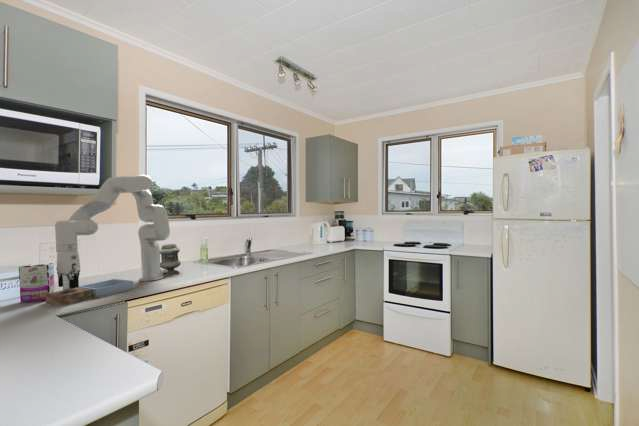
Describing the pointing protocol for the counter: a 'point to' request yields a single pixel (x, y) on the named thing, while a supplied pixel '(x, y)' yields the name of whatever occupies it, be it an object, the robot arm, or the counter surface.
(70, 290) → the pin
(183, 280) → the counter surface
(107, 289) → the tray
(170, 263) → the stone urn
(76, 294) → the socket block
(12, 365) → the counter surface
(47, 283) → the candy bar box
